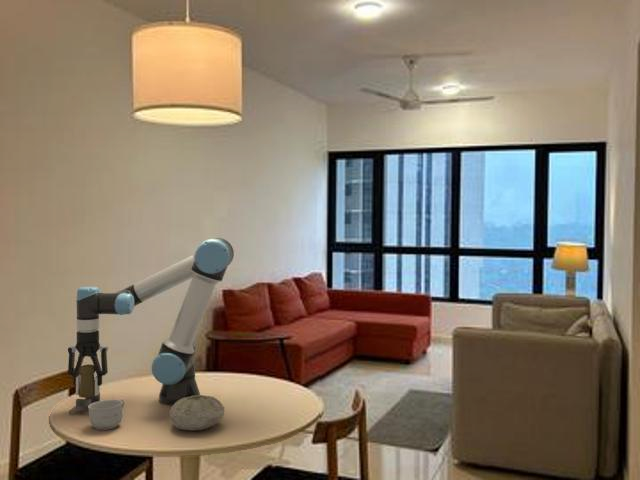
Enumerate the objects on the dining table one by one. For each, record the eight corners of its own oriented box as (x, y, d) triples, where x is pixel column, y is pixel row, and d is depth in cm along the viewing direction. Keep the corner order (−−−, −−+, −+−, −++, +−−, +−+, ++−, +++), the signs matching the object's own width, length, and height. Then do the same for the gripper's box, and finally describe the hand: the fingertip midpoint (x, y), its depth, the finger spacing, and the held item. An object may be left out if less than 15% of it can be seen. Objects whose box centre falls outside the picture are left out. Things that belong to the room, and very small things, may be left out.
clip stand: (106, 405, 229) (106, 391, 229) (97, 414, 219) (97, 400, 219) (79, 405, 229) (79, 391, 229) (68, 414, 219) (68, 399, 218)
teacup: (103, 435, 199) (102, 410, 199) (81, 428, 205) (81, 404, 204) (137, 423, 211) (137, 399, 211) (115, 417, 217) (115, 394, 216)
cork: (99, 395, 224) (99, 365, 224) (83, 398, 220) (83, 367, 219) (91, 391, 228) (91, 362, 228) (75, 395, 224) (75, 364, 223)
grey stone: (170, 419, 215) (170, 390, 214) (222, 416, 219) (222, 388, 218) (169, 437, 197) (169, 406, 197) (226, 434, 201) (226, 403, 201)
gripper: (117, 328, 227) (117, 391, 228) (65, 328, 226) (65, 391, 227) (111, 332, 219) (111, 397, 220) (56, 332, 219) (57, 397, 220)
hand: (87, 394), depth 224 cm, fingers closed on cork, 6 cm apart
